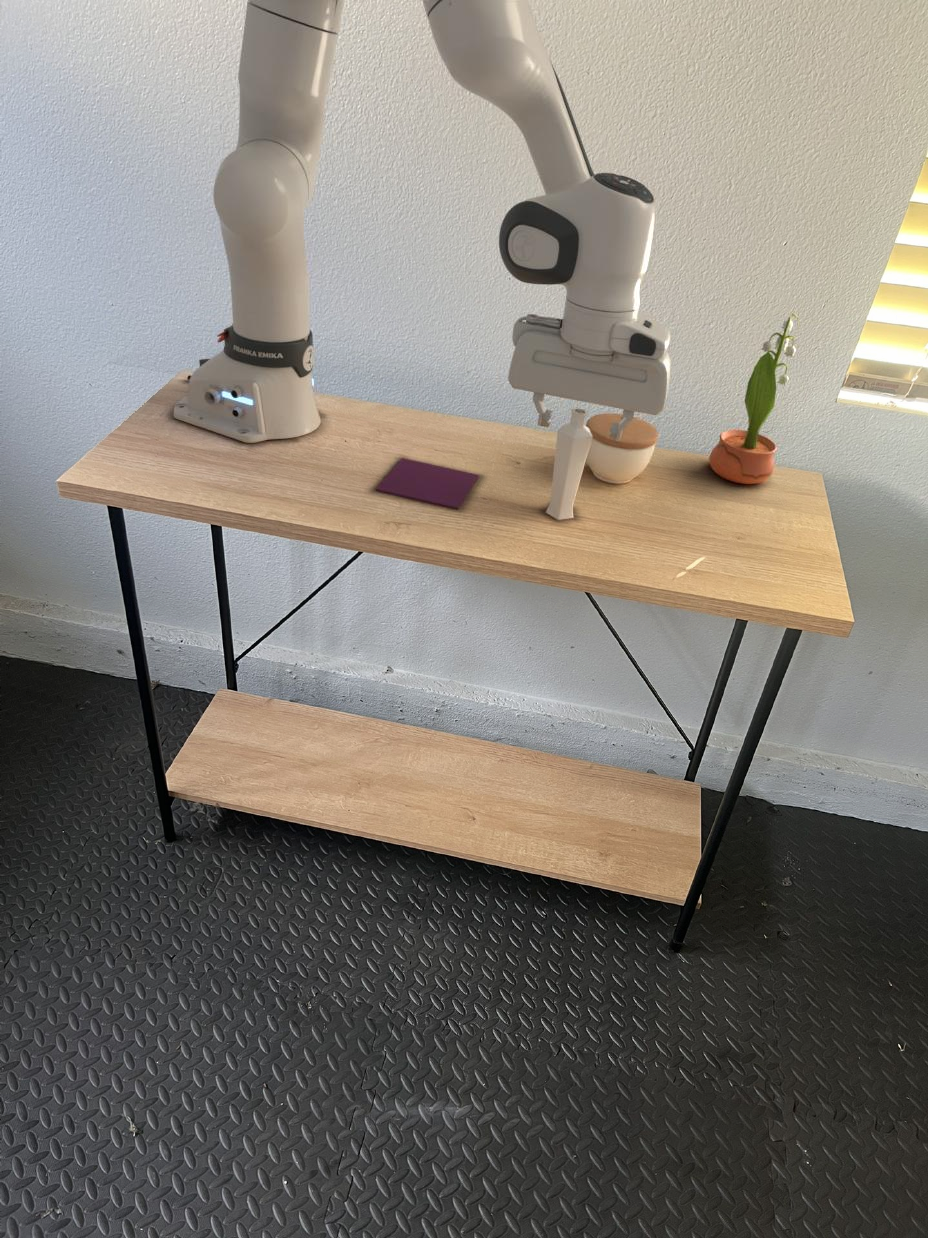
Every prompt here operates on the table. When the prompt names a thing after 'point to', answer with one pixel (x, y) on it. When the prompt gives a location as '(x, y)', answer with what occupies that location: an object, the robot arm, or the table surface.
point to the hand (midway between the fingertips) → (578, 431)
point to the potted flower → (754, 421)
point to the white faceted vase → (569, 464)
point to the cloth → (428, 483)
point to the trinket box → (619, 448)
